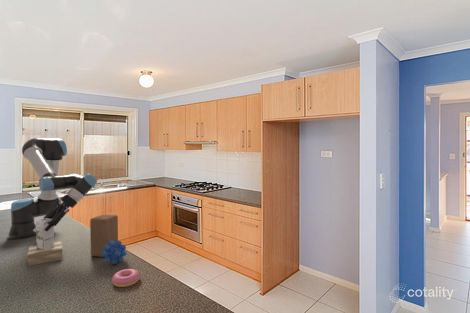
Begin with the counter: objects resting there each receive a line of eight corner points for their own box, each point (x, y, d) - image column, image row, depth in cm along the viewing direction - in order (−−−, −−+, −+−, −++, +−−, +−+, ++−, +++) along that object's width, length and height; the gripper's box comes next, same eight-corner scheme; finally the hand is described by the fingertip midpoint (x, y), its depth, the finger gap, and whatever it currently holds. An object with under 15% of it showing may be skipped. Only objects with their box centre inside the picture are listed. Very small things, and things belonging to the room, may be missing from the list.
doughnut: (111, 291, 106) (111, 280, 106) (112, 278, 116) (112, 269, 116) (140, 285, 110) (140, 275, 110) (139, 274, 121) (138, 265, 120)
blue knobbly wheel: (105, 270, 123) (105, 245, 123) (100, 266, 128) (99, 241, 128) (130, 263, 132) (129, 239, 131) (124, 259, 136) (124, 235, 136)
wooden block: (106, 258, 138) (106, 219, 137) (90, 256, 140) (89, 218, 139) (119, 250, 147) (118, 214, 147) (103, 249, 149) (102, 213, 149)
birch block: (29, 257, 140) (29, 246, 140) (61, 251, 148) (61, 240, 148) (27, 267, 129) (27, 255, 128) (62, 260, 137) (62, 248, 136)
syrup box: (54, 246, 140) (54, 218, 139) (43, 250, 134) (42, 222, 134) (47, 244, 142) (46, 217, 141) (35, 248, 136) (35, 220, 136)
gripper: (84, 205, 141) (49, 242, 130) (71, 199, 156) (38, 233, 145) (72, 196, 137) (35, 234, 126) (60, 191, 152) (26, 225, 141)
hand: (37, 233), depth 135 cm, fingers open, 8 cm apart
